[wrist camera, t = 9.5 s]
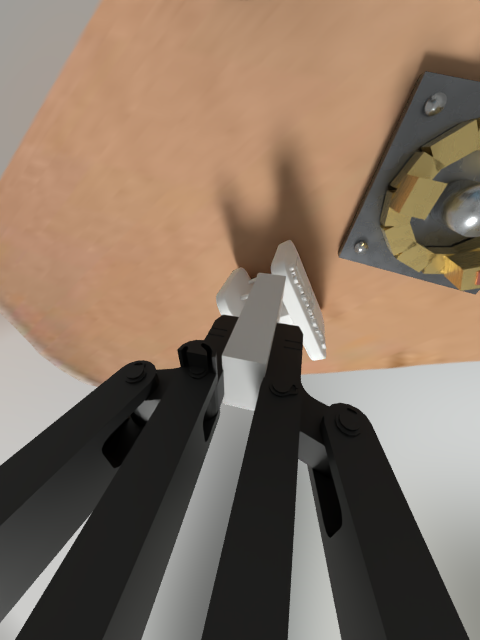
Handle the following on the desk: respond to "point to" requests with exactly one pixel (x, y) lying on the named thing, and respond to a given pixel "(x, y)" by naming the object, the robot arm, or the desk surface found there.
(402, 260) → the ring nut
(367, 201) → the flange
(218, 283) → the desk surface
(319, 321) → the cable organizer
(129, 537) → the robot arm
